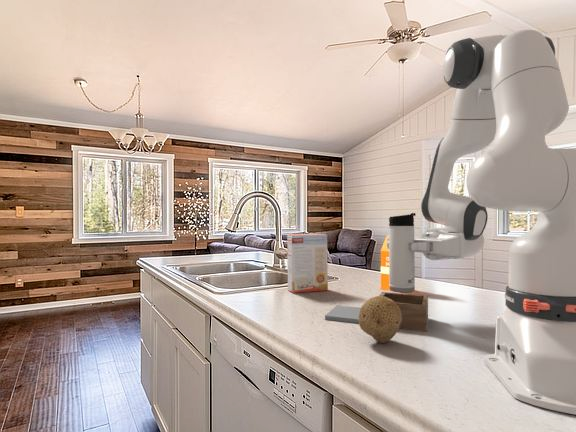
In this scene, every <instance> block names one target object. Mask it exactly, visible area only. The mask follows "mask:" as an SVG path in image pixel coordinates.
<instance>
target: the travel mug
mask: <svg viewBox="0 0 576 432" xmlns="http://www.w3.org/2000/svg"><path fill="white" fill-rule="evenodd" d="M414 217H416V212H411V213H410V214H402V215H393V216H389V218H388V222H389V224H388V236H389V283H390V284H389V289H390V290H391V291H390V292H393V293H400V294H409V293H410V294H411V293H414V292H416V291H415V288H416V286H415V279H416V276H415V275H416V274H415V272H416V271H415V269H416V268H415V252H414V250H409V243H414V237H415V223H414V222H415V220H414V219H415V218H414Z"/></svg>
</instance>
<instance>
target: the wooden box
mask: <svg viewBox="0 0 576 432" xmlns="http://www.w3.org/2000/svg"><path fill="white" fill-rule="evenodd" d="M378 296H384V297H388V298H390V299H392V300H393V301H394V302H395V303H396V304H397V305H398V306H399V308H400V310H401V314H402V322H401V325H400V327H399V329H403V330H410V331H411V330H413V331H421V332H427V329H428V328H427V327H428V322H429V295H426V294H425V295H423V294H422V295H421V294H412V293H410V294H409V293H400V292H388V291H387V292H385V291H381V293H380V294H379V295H378Z"/></svg>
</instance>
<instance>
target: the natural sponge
mask: <svg viewBox="0 0 576 432" xmlns="http://www.w3.org/2000/svg"><path fill="white" fill-rule="evenodd" d="M360 308H361V309H360V312H359V323H358V324H359V327H360V329H361V330H362V331H363V332H364V333H365V334H367V335H369V336H370V337H372V339H373V340H375V341H376V342H379V343H382V344H384V343H387V342H389V341H391V340H392V339H393V338H394V337H395V335H396V334H397V332H398V331H399V329H400V328H399V327H400V325H401V322H402V314H401V310H400V308H399V306H398V305H397V304H396V303H395V302H394V301H393V300H392V299H390V298H388V297H384V296H379V295H375V296H373V297H371V298H368V299H367V300H366V301H365V302H364V303H363V304H362V306H360Z"/></svg>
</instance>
